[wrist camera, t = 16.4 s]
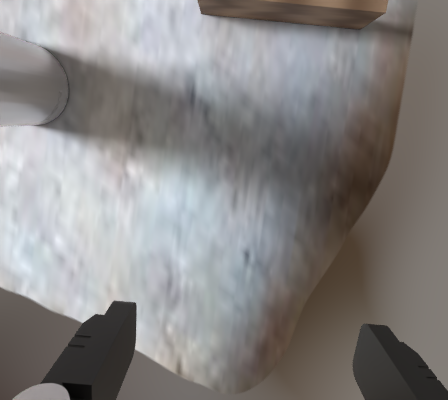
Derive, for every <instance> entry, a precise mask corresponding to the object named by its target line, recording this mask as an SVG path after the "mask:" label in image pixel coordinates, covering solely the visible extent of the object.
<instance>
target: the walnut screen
mask: <svg viewBox="0 0 448 400" xmlns="http://www.w3.org/2000/svg"><path fill="white" fill-rule="evenodd" d="M198 3H199V7H200V11H201V14H207V15H218V16H228V17H238V18H249V19H259V20H269V21H279V22H290V23H300V24H310V25H321V26H331V27H341V28H352V29H362V28H363V27H365V26H366V25H368V24H369V23H371V22H372V21H374V20H375V19H377V18H378V17H380V16H381V15H383V14H384V13H386V9H387V4H388V0H198Z"/></svg>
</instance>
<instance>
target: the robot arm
mask: <svg viewBox="0 0 448 400" xmlns="http://www.w3.org/2000/svg"><path fill="white" fill-rule="evenodd" d="M68 94H69V93H68V81H67V77H66V74H65V72H64V69H63V68H62V66H61V64H60V63H59V61H58V60H57V59H56V58H55V57H54V56H53V55H52V54H51V53H50V52H48V51H47V50H46V49H44V48H42V47H40V46H37V45H35V44H32V43H29V42H27V41H24V40H21V39H19V38H16V37H13V36H11V35H8V34H5V33H2V32H0V127H3V126H25V125H40V124H45V123H48V122H50V121H52V120H54V119H55V118H57V117H58V116H59V115H60V114H61V112H62V111H63V110H64V108H65V105H66V103H67V99H68ZM135 343H136V303H135V302H123V301H113V302H112V304H111V305H110V307H109V309H108V310H107V312H106V313H105V315H98V314H95V315H94V316H92V317H91V318H90V319H88V320H87V321H85V322H84V323H83V324H82V325H81V327H80V328H79V329H78V331H77V332H76V334H75V336H74V337H73V338H72V339H71V341H70V342H69V344H68V347H66V348H65V349H64V351H63V352H62V354H61V355H60V356H59V358H58V359H57V361H56V362H55V364H54V365H53V366H52V368H51V369H50V371H49V372H48V374H47V375H46V376H45V378H44V379H43V381H42V382H41V383H40V384H39V385H36V386H33V387H31V388H28V389H27V390H24V391H23V392H21V393H20V394H18V395H17V396H16V397H15V398H14V399H12V400H116V398H117V395H118V393H119V391H120V388H121V386H122V383H123V381H124V378H125V375H126V373H127V370H128V368H129V365H130V363H131V360H132V358H133V354H134V350H135ZM353 372H354V377H355V380H356V382H357V384H358V386H359V388H360V390H361V392H362V394H363V396H364V398H365V400H448V391H447V390H446V388H445V387H444V386H443V385H442V383H441V382H440V381H439V380H437V377H436V376H435V374H434V373H433V372H432V371H431V369H429V368H428V366H427V364H426V363H425V362H424V361H423V359H422V358H421V357H420V356H419V354H418V353H416V352H415V351H414V350H413V349H411V348H410V347H409V346H407V345H406V344H405V343H404V342H399V340H398V339H397V338H396V336H395V335H394V334H393V332H392V331H391V330H390V328H389V327H388V326H385V325H374V324H363V325H362V326H361V329H360V333H359V337H358V341H357V346H356V350H355V354H354V359H353Z"/></svg>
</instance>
